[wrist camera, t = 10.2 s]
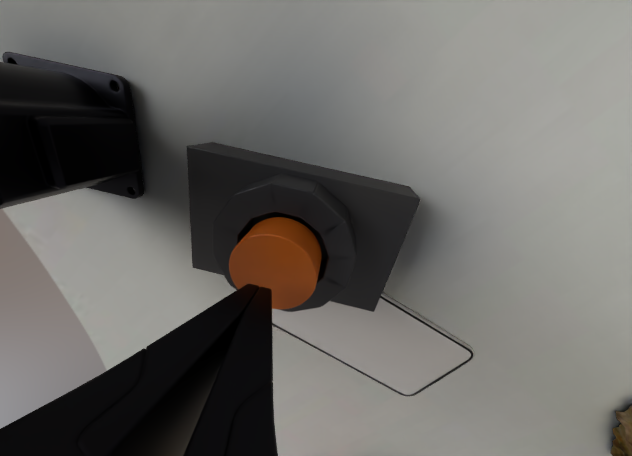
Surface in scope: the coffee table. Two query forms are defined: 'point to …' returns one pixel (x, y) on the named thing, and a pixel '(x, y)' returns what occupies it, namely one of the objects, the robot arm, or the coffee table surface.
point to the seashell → (623, 434)
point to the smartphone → (380, 342)
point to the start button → (278, 261)
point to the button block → (299, 217)
